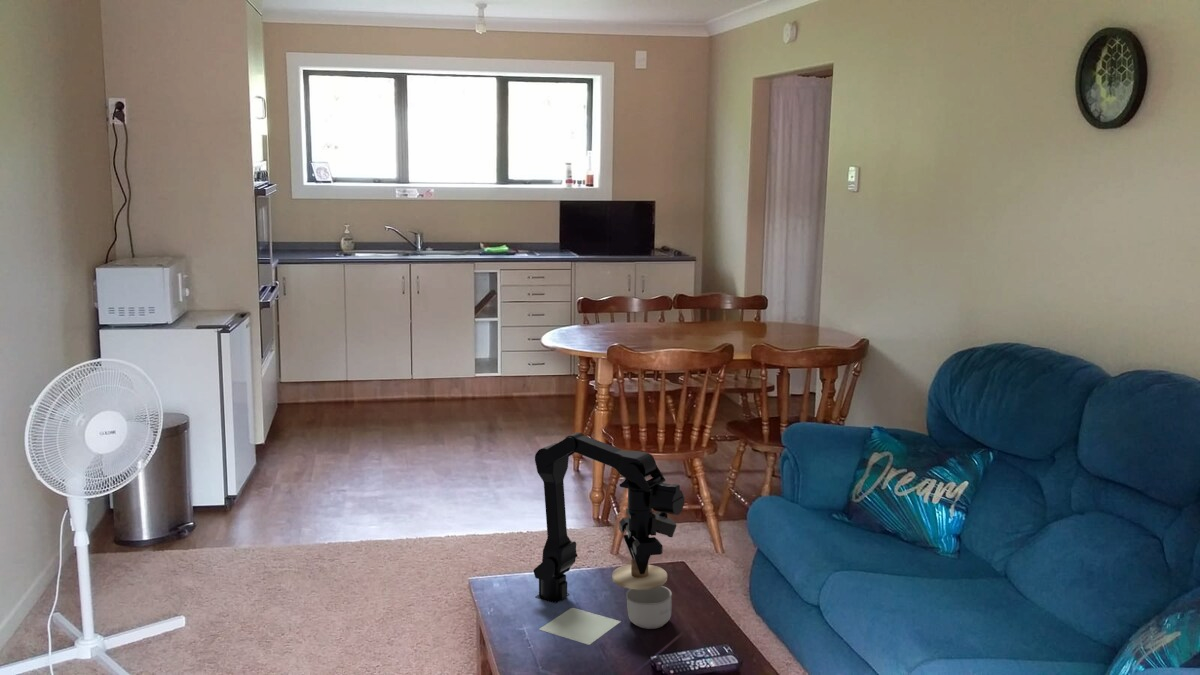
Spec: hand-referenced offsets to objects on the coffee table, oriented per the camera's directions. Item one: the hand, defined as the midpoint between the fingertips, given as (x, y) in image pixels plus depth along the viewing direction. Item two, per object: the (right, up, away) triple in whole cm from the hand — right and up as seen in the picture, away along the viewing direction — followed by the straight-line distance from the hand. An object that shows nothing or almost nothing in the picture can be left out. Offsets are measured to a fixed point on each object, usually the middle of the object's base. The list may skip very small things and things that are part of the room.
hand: (640, 570), depth 232 cm
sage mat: (-14, -13, -1) cm, 20 cm away
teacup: (+2, -13, +3) cm, 14 cm away
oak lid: (0, -2, 0) cm, 2 cm away
